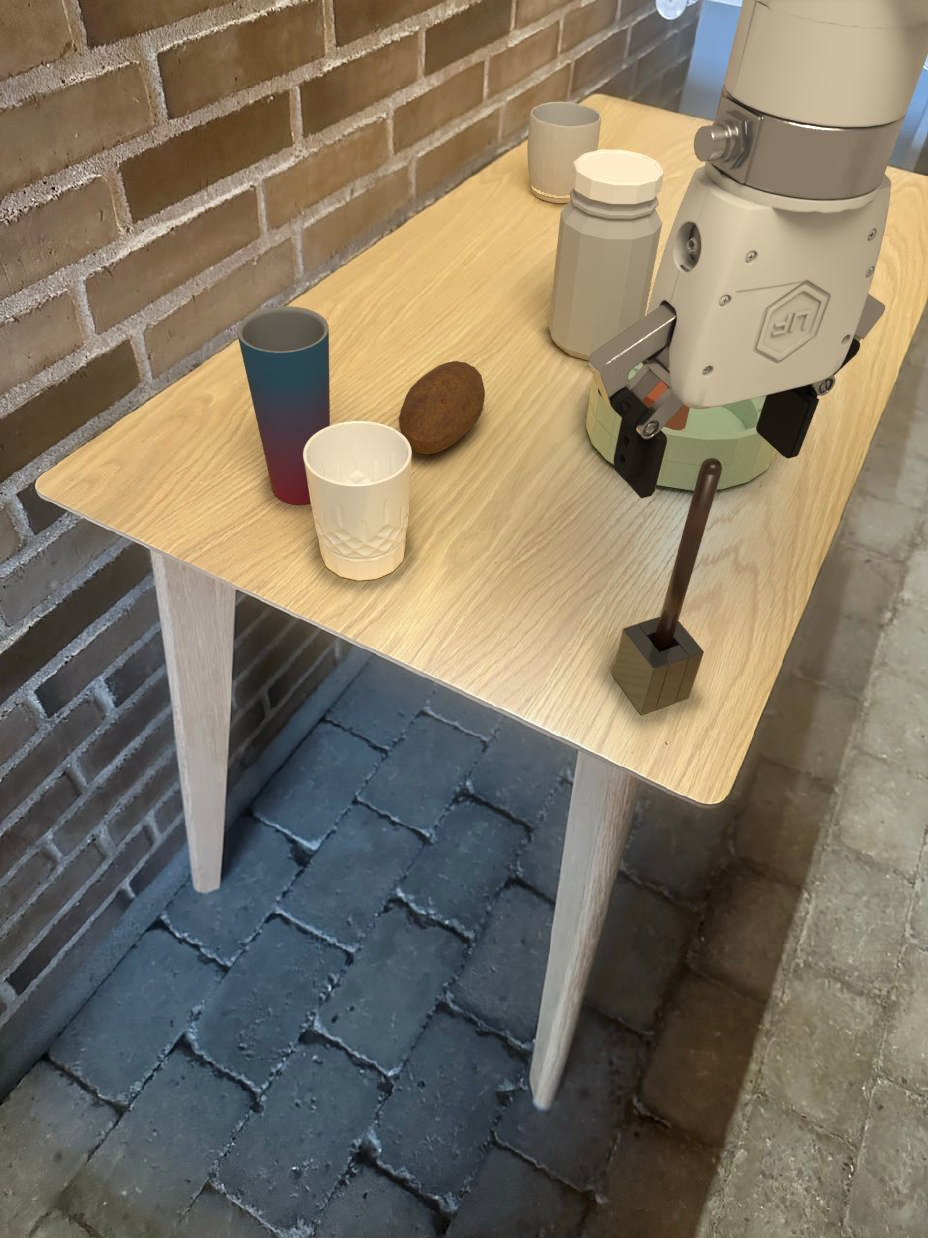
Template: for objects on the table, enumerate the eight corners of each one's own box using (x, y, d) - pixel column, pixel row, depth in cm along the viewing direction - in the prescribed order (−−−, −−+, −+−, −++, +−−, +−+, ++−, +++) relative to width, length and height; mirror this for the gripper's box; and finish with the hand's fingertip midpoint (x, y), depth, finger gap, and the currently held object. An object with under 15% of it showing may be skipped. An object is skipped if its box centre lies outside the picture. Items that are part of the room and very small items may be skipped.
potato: (381, 464, 84) (379, 397, 79) (430, 397, 91) (431, 332, 86) (452, 483, 82) (454, 416, 77) (495, 413, 90) (500, 348, 85)
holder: (658, 659, 69) (671, 611, 65) (689, 698, 66) (704, 651, 63) (611, 675, 68) (622, 628, 64) (641, 716, 65) (654, 669, 61)
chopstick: (652, 678, 67) (716, 451, 53) (661, 690, 67) (728, 463, 52) (638, 683, 67) (698, 456, 53) (647, 695, 66) (710, 468, 52)
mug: (574, 213, 121) (584, 131, 114) (512, 198, 124) (518, 116, 117) (611, 180, 129) (623, 101, 122) (552, 166, 132) (560, 88, 125)
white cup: (432, 552, 76) (433, 451, 69) (361, 602, 72) (355, 500, 64) (365, 508, 79) (359, 407, 72) (293, 553, 75) (280, 451, 68)
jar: (635, 371, 96) (669, 192, 83) (541, 358, 97) (559, 179, 84) (642, 324, 102) (674, 151, 89) (553, 312, 103) (572, 140, 90)
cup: (356, 480, 82) (347, 323, 71) (307, 522, 78) (289, 362, 67) (296, 453, 84) (277, 297, 73) (245, 492, 80) (217, 333, 69)
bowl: (703, 370, 96) (716, 316, 92) (813, 468, 85) (834, 412, 81) (552, 406, 91) (559, 350, 87) (649, 515, 80) (662, 458, 76)
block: (656, 410, 90) (663, 377, 87) (685, 427, 88) (693, 394, 85) (631, 423, 88) (637, 390, 86) (659, 441, 86) (666, 408, 84)
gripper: (680, 204, 35) (607, 542, 48) (1013, 152, 41) (869, 467, 53) (582, 132, 40) (539, 458, 52) (893, 94, 45) (787, 397, 58)
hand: (706, 462), depth 53 cm, fingers open, 9 cm apart
